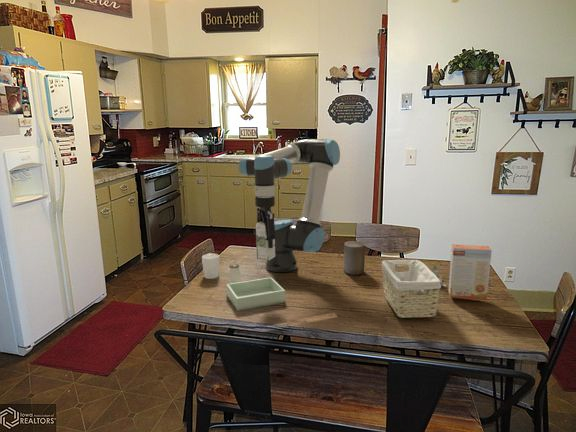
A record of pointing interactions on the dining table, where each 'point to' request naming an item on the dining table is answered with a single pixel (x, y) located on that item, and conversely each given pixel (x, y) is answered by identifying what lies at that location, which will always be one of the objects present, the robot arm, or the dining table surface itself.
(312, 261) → the dining table surface
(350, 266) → the pillar candle
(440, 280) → the house of cards
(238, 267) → the spice jar
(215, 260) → the white cup
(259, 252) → the syrup box
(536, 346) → the dining table surface
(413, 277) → the storage basket
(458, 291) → the cracker box
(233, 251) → the dining table surface
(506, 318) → the dining table surface
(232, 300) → the tote
